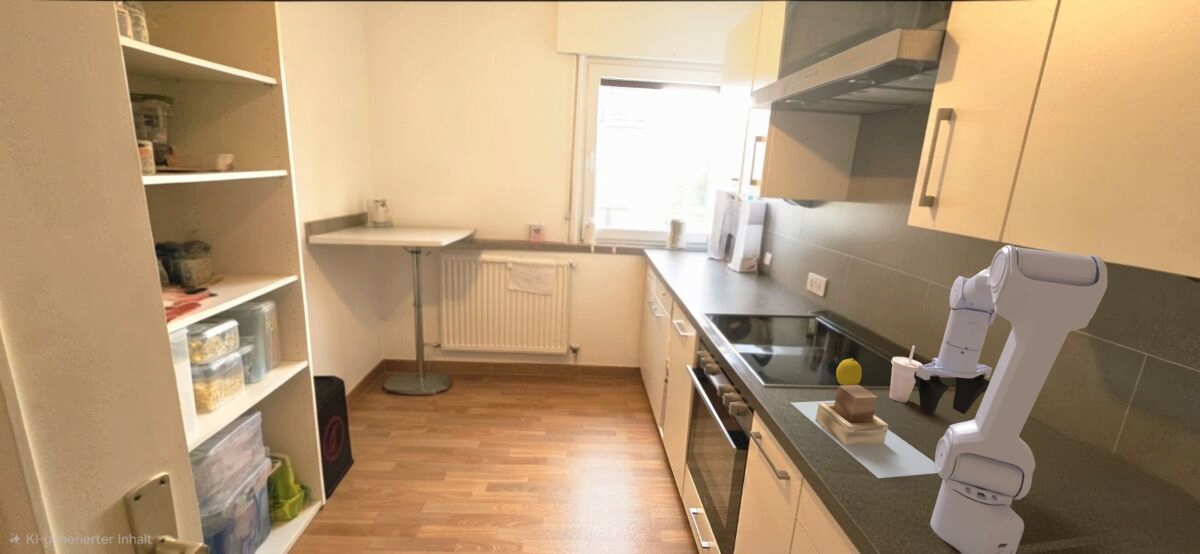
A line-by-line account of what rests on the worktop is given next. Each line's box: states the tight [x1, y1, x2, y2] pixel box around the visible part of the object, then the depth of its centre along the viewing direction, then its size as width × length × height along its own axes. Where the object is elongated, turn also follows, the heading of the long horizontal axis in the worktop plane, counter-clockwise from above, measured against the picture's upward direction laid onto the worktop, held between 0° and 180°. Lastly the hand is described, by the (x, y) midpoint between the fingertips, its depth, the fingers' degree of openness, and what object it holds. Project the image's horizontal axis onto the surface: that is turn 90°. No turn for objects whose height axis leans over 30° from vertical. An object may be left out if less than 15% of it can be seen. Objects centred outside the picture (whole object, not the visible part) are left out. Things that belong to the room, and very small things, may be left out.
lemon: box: [835, 357, 863, 386], centre depth 117 cm, size 6×6×8 cm
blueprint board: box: [790, 400, 938, 479], centre depth 96 cm, size 26×15×1 cm, turn 12°
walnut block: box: [833, 384, 879, 423], centre depth 95 cm, size 5×5×6 cm
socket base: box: [815, 403, 889, 446], centre depth 96 cm, size 9×9×4 cm
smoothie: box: [889, 345, 923, 403], centre depth 113 cm, size 6×6×14 cm
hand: (942, 412), depth 88 cm, fingers open, 7 cm apart
